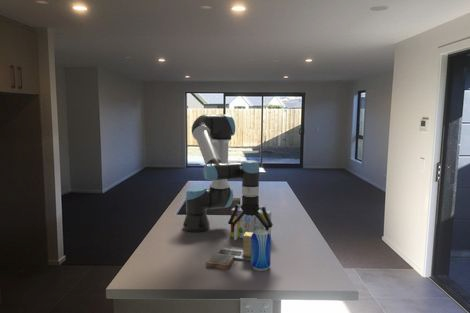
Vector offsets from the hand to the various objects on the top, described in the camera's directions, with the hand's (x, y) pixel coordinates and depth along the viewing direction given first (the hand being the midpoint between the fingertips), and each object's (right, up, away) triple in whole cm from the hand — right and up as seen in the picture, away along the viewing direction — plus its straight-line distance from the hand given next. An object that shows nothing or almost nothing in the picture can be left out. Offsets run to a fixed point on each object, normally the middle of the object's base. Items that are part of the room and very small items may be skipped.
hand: (250, 240), depth 161 cm
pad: (-13, -9, -5) cm, 17 cm away
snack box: (+1, -5, +26) cm, 27 cm away
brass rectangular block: (0, -8, +1) cm, 8 cm away
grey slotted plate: (-4, -8, +2) cm, 9 cm away
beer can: (+4, -10, -9) cm, 14 cm away
